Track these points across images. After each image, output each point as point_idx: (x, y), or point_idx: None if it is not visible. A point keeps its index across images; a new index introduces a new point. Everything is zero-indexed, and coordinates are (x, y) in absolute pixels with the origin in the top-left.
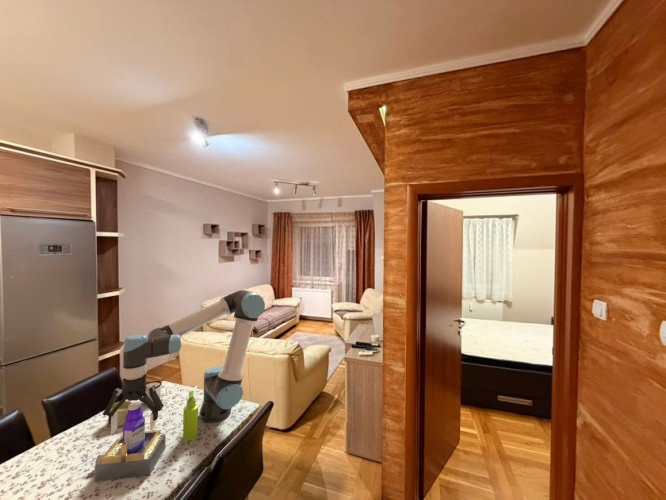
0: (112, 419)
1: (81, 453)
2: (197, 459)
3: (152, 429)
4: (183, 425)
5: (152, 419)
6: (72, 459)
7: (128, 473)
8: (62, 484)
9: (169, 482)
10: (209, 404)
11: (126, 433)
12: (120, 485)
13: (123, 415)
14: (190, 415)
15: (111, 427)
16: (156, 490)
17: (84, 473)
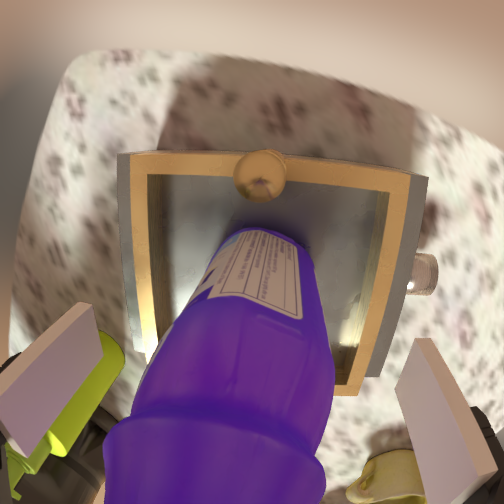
0: (475, 448)
1: (477, 351)
2: (29, 211)
3: (77, 307)
4: (90, 381)
5: (17, 357)
6: (495, 326)
7: (246, 152)
8: (496, 196)
9: (74, 102)
10: None
11: (275, 292)
12: (264, 109)
13: (382, 482)
14: None
15: (450, 379)
16: (105, 66)
17: (451, 238)
